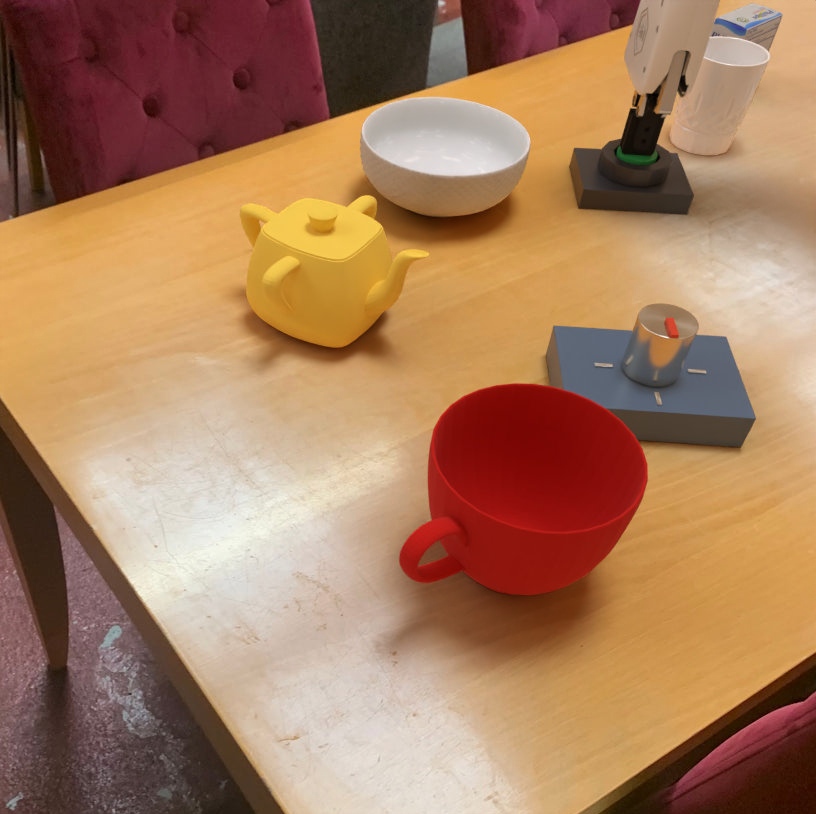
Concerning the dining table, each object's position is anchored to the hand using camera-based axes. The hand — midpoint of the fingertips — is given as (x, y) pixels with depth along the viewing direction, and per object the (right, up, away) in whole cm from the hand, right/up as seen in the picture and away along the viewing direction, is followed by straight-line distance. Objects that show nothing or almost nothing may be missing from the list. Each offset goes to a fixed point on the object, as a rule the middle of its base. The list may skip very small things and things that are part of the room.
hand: (635, 151), depth 91 cm
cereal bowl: (-20, -4, +2) cm, 21 cm away
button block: (0, -3, +3) cm, 4 cm away
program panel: (-7, -28, -19) cm, 35 cm away
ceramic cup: (-22, -41, -31) cm, 56 cm away
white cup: (+11, +5, +11) cm, 16 cm away
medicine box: (+19, +16, +20) cm, 32 cm away
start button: (0, -1, +1) cm, 2 cm away
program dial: (-7, -26, -21) cm, 34 cm away
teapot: (-32, -20, -12) cm, 40 cm away
